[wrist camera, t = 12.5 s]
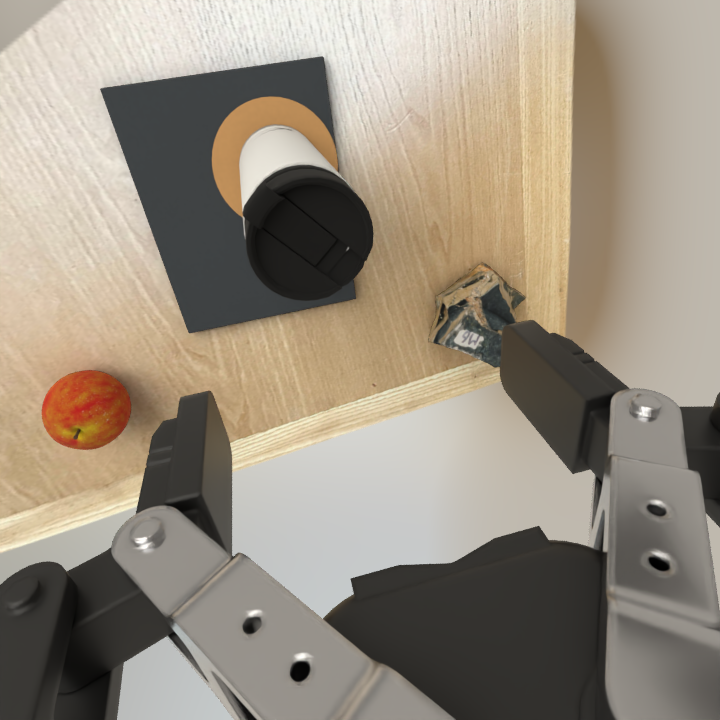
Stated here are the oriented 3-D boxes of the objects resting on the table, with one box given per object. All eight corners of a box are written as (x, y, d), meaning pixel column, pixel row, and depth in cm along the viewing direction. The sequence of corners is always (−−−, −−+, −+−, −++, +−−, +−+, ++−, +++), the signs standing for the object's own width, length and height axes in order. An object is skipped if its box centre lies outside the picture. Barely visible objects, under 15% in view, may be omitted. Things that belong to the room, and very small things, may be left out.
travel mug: (267, 101, 36) (297, 139, 20) (333, 162, 40) (405, 237, 23) (219, 168, 38) (209, 255, 22) (285, 221, 41) (322, 331, 25)
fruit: (126, 423, 49) (110, 479, 43) (49, 406, 46) (19, 464, 40) (144, 368, 47) (130, 419, 40) (64, 347, 44) (34, 398, 37)
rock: (521, 286, 51) (551, 309, 46) (468, 355, 54) (491, 383, 50) (462, 248, 47) (487, 269, 43) (409, 325, 51) (427, 352, 46)
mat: (102, 88, 34) (99, 88, 34) (321, 56, 36) (323, 56, 36) (189, 329, 45) (188, 334, 45) (354, 295, 47) (356, 299, 47)
